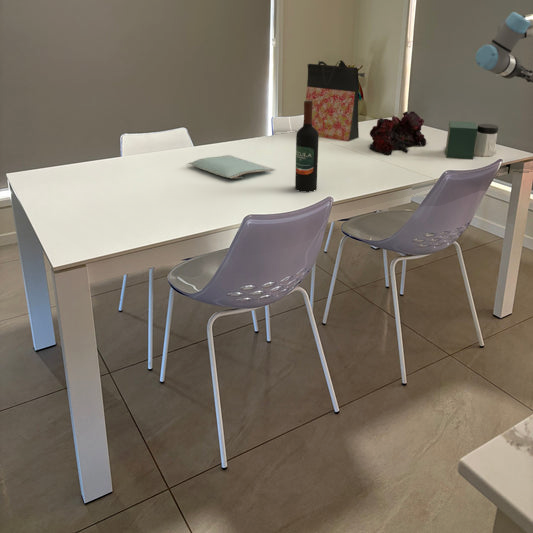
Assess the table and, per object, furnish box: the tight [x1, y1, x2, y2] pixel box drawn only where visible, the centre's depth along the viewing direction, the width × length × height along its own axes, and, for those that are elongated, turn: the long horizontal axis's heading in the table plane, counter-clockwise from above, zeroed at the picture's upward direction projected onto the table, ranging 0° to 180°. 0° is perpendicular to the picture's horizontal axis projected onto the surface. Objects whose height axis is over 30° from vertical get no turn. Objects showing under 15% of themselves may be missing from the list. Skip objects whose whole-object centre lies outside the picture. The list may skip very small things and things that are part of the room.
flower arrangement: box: [368, 110, 427, 156], centre depth 259 cm, size 31×20×15 cm, turn 137°
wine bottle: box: [294, 100, 320, 193], centre depth 201 cm, size 8×8×30 cm
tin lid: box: [448, 120, 478, 131], centre depth 245 cm, size 13×11×1 cm
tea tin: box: [445, 125, 477, 160], centre depth 247 cm, size 13×11×12 cm
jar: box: [473, 123, 499, 158], centre depth 248 cm, size 9×8×12 cm
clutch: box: [188, 155, 273, 179], centre depth 228 cm, size 28×4×20 cm
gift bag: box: [302, 59, 366, 142], centre depth 274 cm, size 29×14×35 cm, turn 53°
